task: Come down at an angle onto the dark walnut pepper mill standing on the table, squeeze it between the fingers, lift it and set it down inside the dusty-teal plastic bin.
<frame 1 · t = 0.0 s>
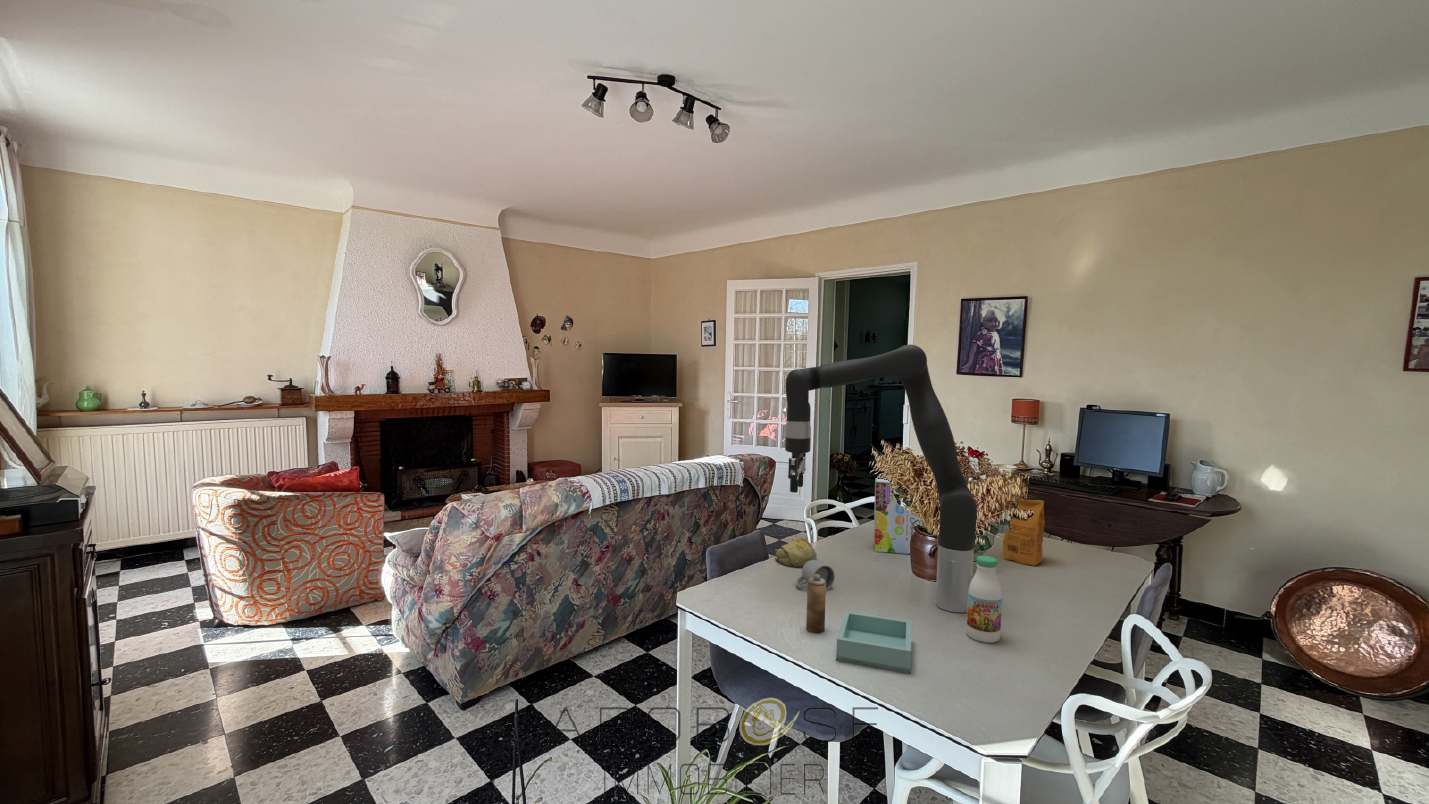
hand: (796, 489, 178), 29 cm above the table, tool pointing down, fingers open, 8 cm apart
coffee package: (1021, 560, 205), on the table
snack box: (904, 551, 213), on the table
pastry: (796, 563, 200), on the table
milk bottle: (982, 637, 147), on the table
ceramic mug: (813, 587, 178), on the table
pepper mill: (815, 629, 150), on the table
bin: (874, 650, 139), on the table
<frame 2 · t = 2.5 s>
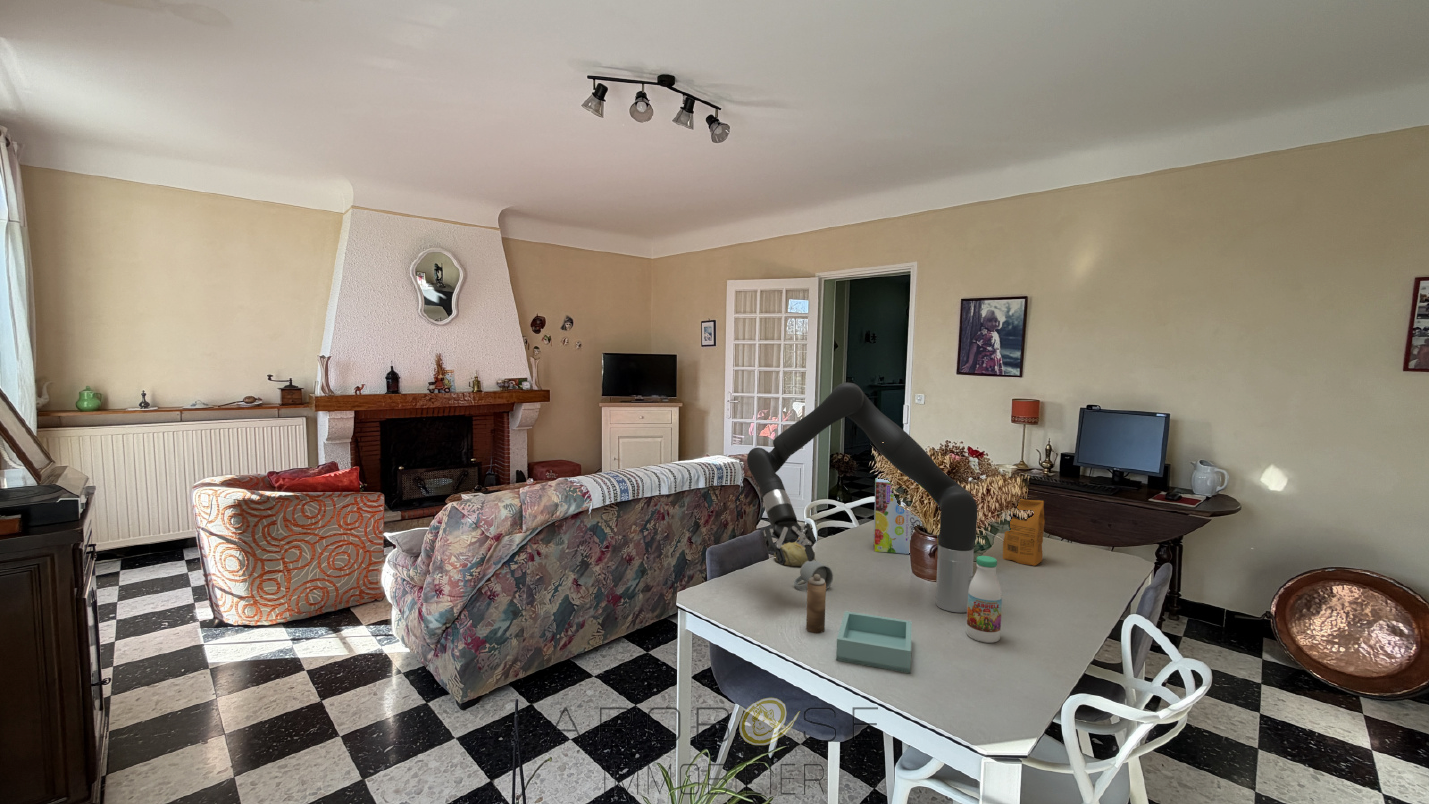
hand: (797, 561, 158), 14 cm above the table, tool tilted 45°, fingers open, 8 cm apart
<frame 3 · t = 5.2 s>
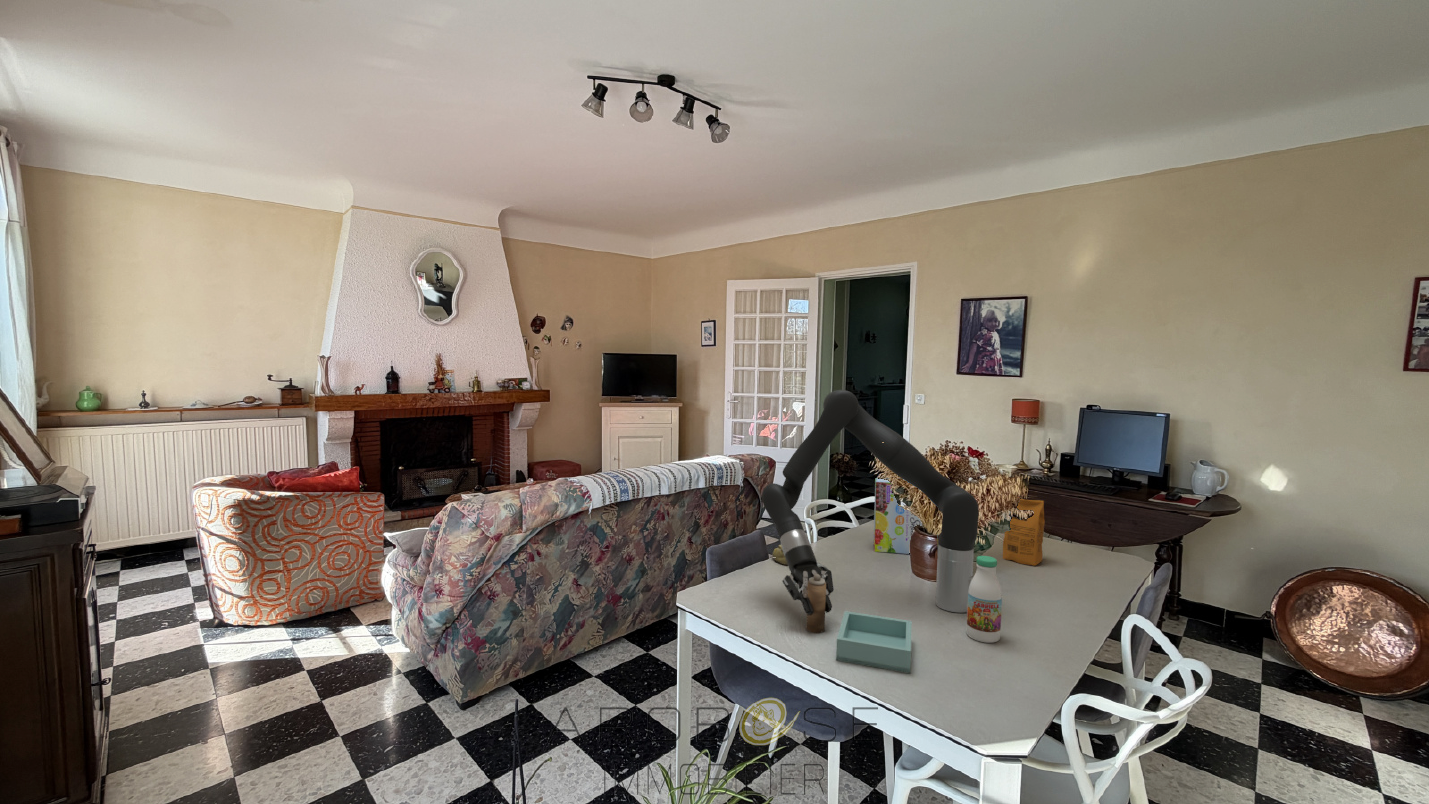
hand: (820, 612, 148), 5 cm above the table, tool tilted 45°, fingers closed on pepper mill, 4 cm apart
pepper mill: (815, 629, 150), on the table, touching gripper
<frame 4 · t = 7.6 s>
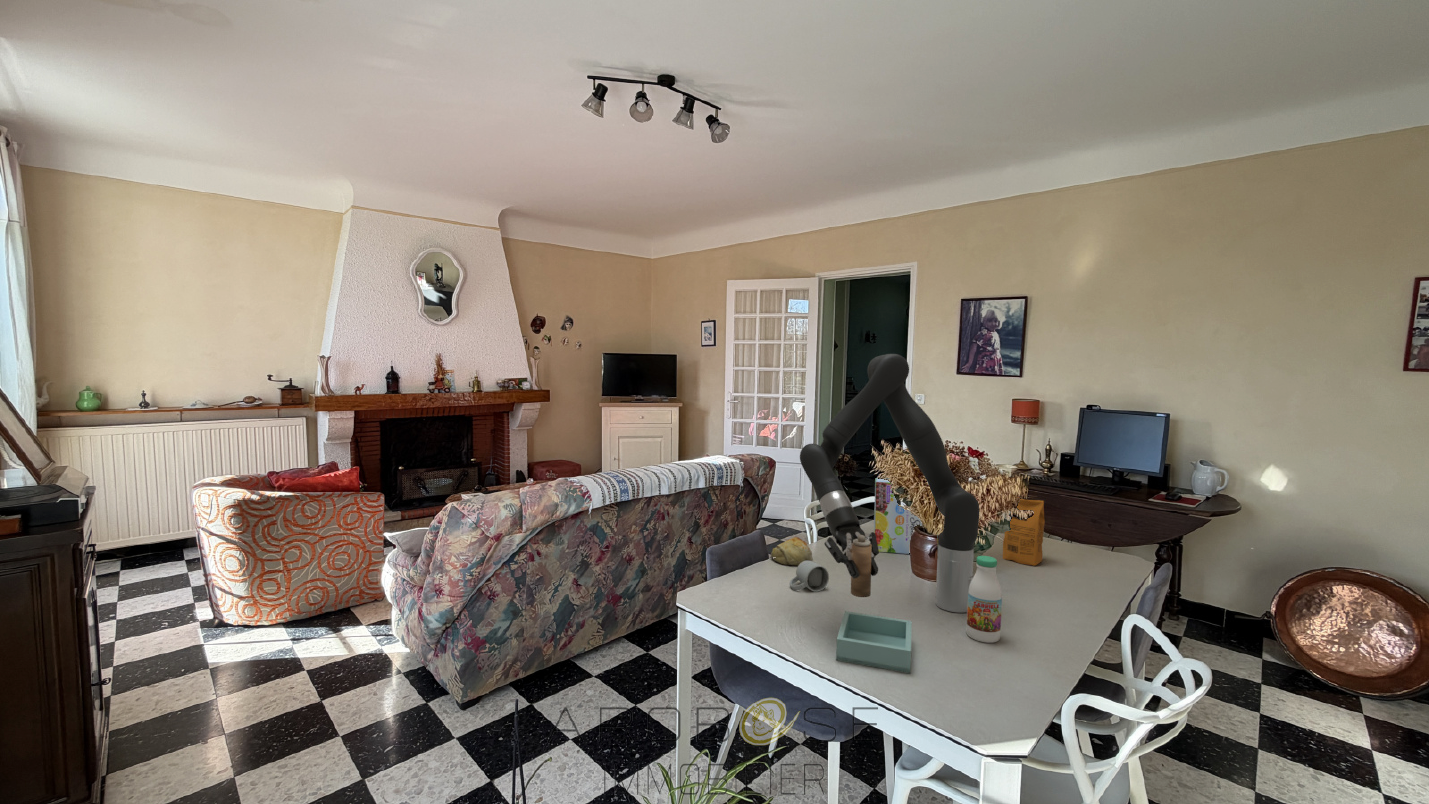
hand: (865, 575, 139), 18 cm above the table, tool tilted 45°, fingers closed on pepper mill, 4 cm apart
pepper mill: (860, 593, 142), point 12 cm above the table, touching gripper
when the fingers open (8 cm above the table, at t = 10.4 s): pepper mill drops 1 cm, resting on bin.
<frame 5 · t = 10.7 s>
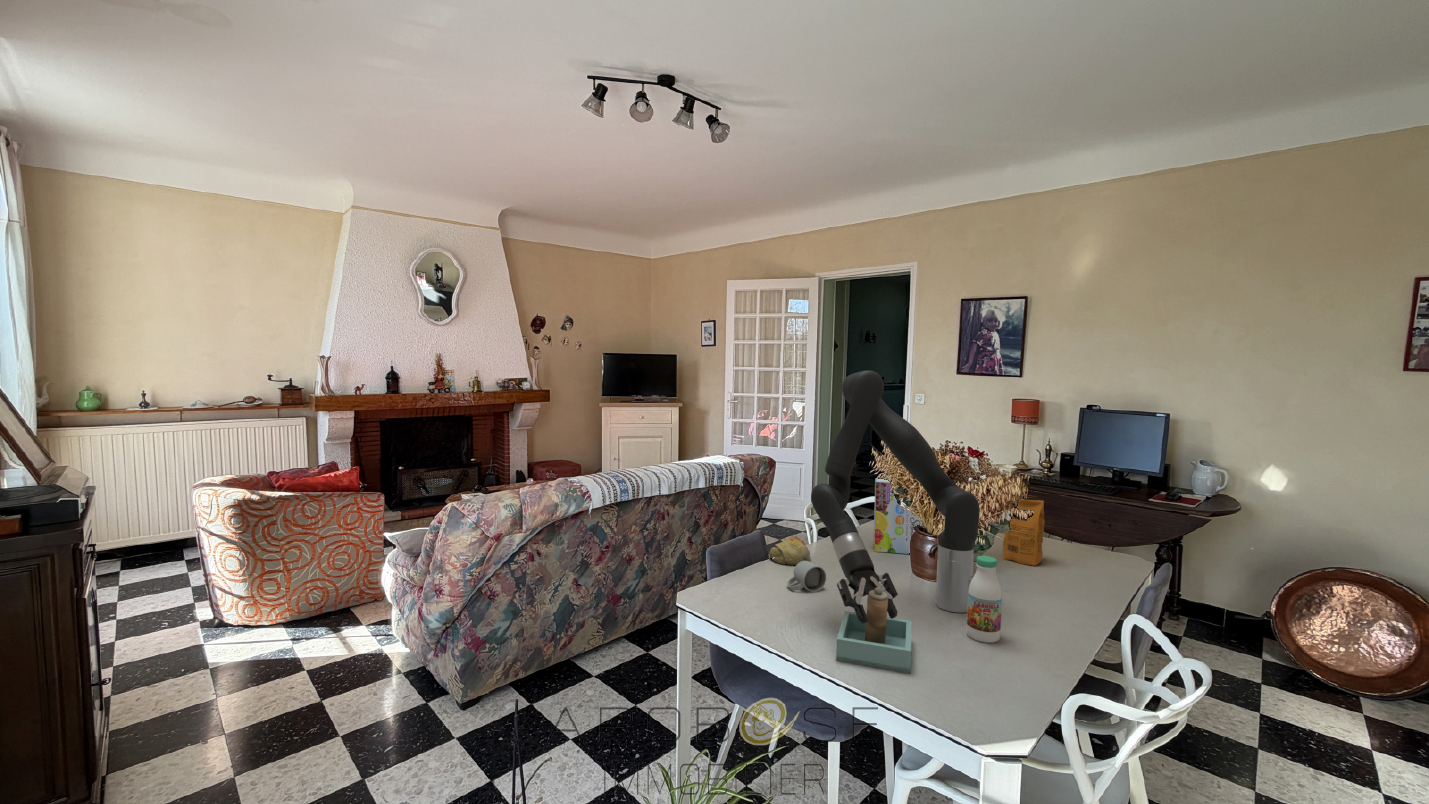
hand: (879, 619, 137), 8 cm above the table, tool tilted 45°, fingers open, 7 cm apart
pepper mill: (874, 645, 139), point 1 cm above the table, touching bin
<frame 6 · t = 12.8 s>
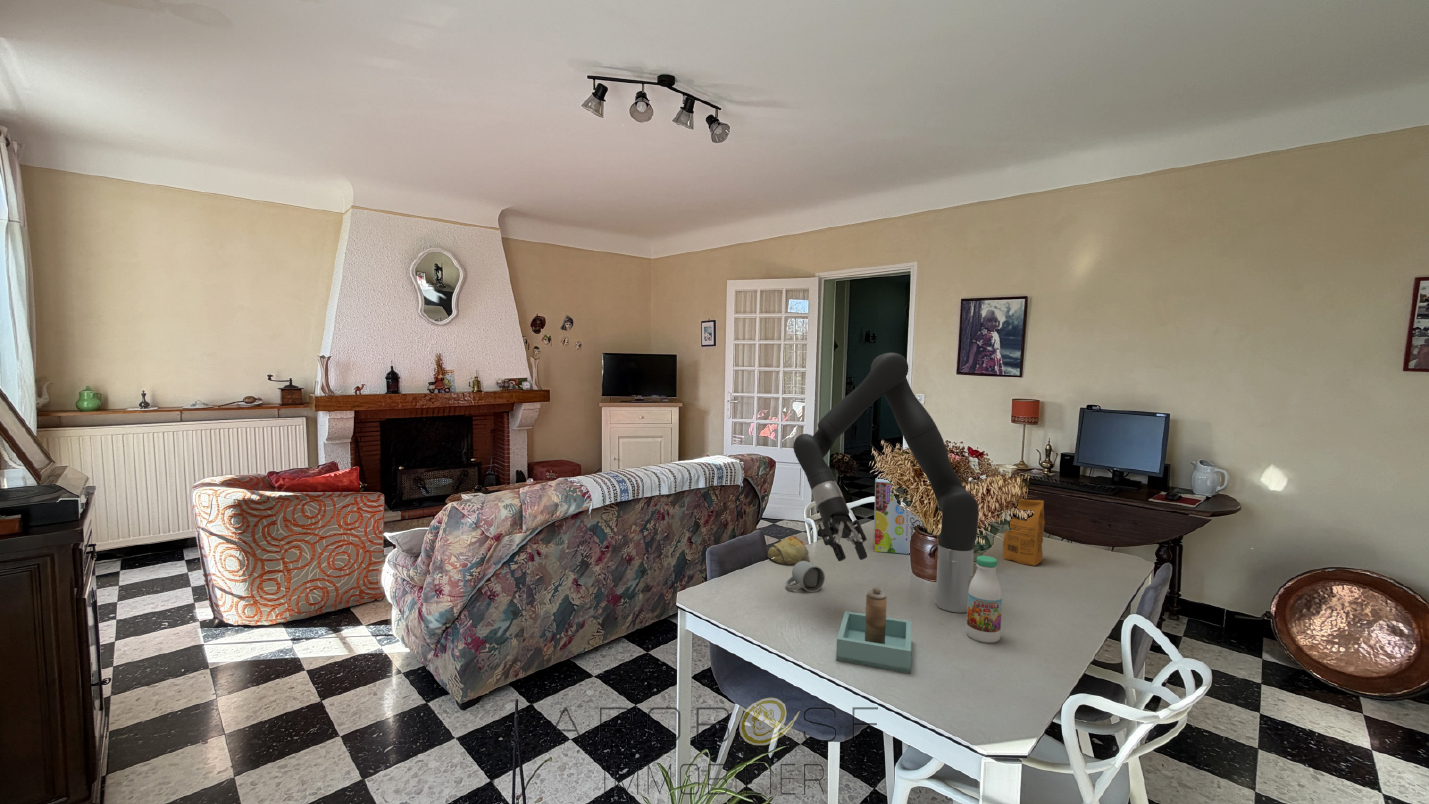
hand: (853, 559, 150), 18 cm above the table, tool tilted 40°, fingers open, 8 cm apart
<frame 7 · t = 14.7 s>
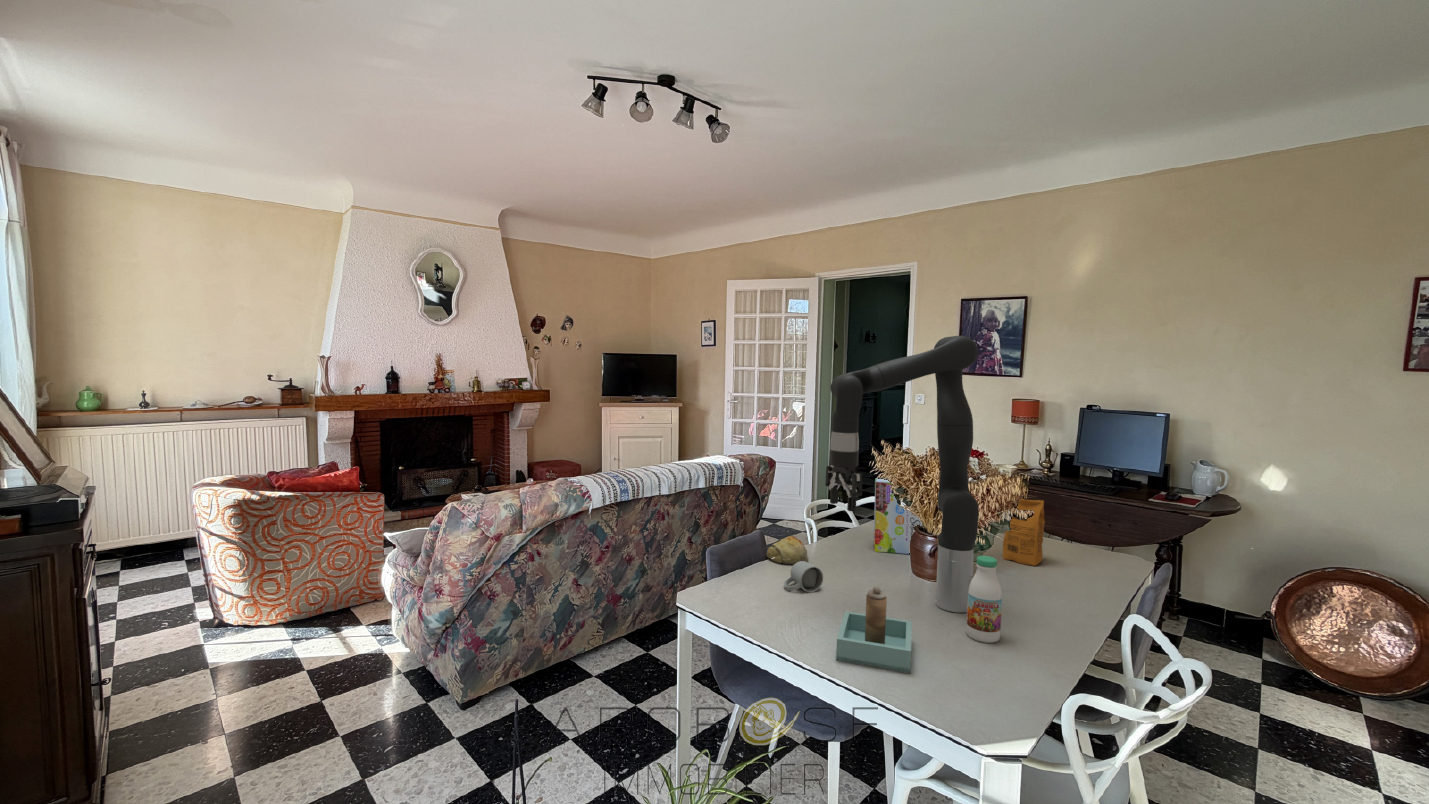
hand: (842, 507, 162), 28 cm above the table, tool pointing down, fingers open, 8 cm apart
at the end: pepper mill inside the target area on the bin (0.1 cm from its centre), point 1.0 cm above the bin's base; the gripper is holding nothing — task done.
